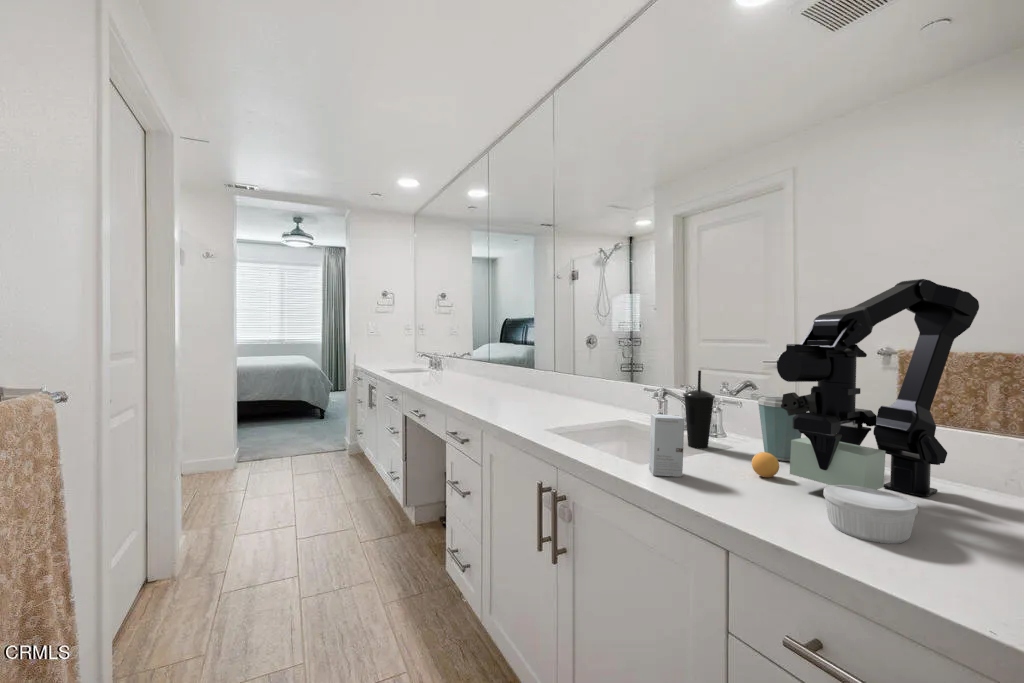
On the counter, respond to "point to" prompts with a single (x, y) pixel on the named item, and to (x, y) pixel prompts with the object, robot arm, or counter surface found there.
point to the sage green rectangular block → (839, 465)
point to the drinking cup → (698, 416)
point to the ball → (765, 464)
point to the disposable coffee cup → (776, 428)
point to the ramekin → (870, 513)
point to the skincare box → (666, 445)
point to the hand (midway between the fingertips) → (834, 466)
